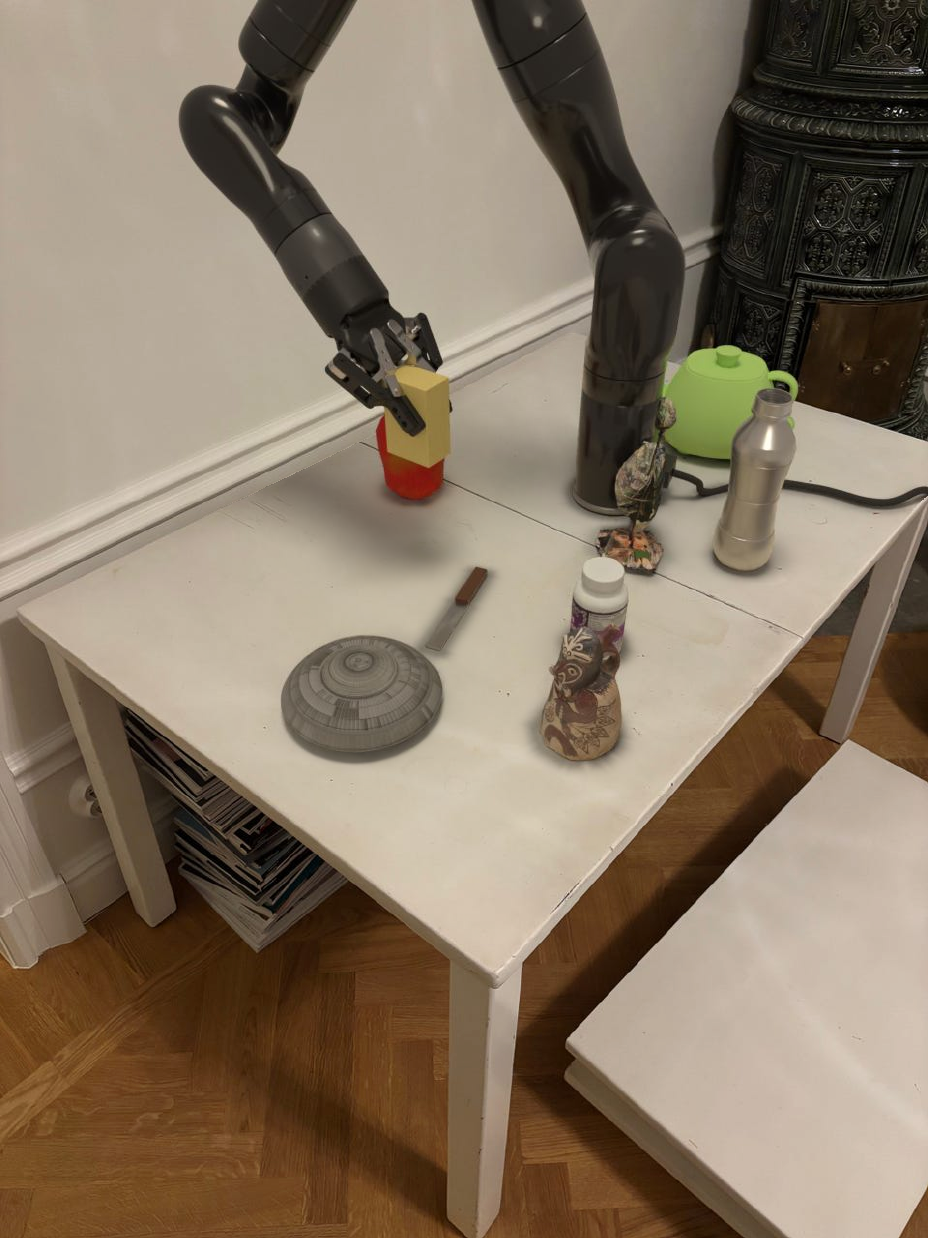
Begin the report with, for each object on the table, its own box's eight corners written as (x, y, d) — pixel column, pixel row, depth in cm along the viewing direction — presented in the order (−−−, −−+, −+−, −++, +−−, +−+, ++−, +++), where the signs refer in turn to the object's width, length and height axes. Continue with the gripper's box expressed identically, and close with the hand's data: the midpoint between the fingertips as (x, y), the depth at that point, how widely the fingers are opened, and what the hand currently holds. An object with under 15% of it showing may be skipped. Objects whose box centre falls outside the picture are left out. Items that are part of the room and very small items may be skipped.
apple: (371, 504, 115) (363, 416, 108) (393, 470, 121) (387, 385, 114) (438, 514, 113) (435, 425, 106) (457, 479, 120) (455, 393, 112)
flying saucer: (381, 787, 81) (376, 744, 77) (249, 722, 87) (239, 678, 83) (472, 684, 90) (472, 641, 87) (348, 632, 97) (343, 590, 93)
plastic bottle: (736, 584, 102) (773, 417, 89) (697, 552, 107) (726, 389, 94) (781, 568, 104) (824, 402, 92) (741, 537, 109) (776, 376, 96)
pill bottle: (564, 629, 97) (570, 553, 90) (615, 626, 97) (625, 550, 91) (573, 665, 92) (580, 587, 86) (627, 661, 93) (637, 584, 87)
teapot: (613, 456, 124) (623, 362, 116) (631, 405, 135) (641, 316, 127) (786, 480, 119) (809, 383, 110) (790, 425, 130) (811, 334, 122)
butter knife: (474, 572, 104) (474, 565, 104) (488, 575, 104) (488, 569, 103) (425, 647, 95) (425, 640, 94) (440, 650, 94) (439, 644, 94)
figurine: (531, 710, 88) (536, 610, 80) (603, 698, 89) (615, 598, 81) (554, 767, 82) (562, 665, 75) (630, 753, 83) (646, 652, 76)
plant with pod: (676, 529, 111) (702, 369, 98) (652, 583, 102) (678, 416, 90) (609, 514, 113) (626, 357, 100) (581, 566, 105) (596, 401, 92)
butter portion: (409, 438, 100) (405, 362, 94) (450, 453, 97) (449, 377, 92) (387, 452, 98) (381, 375, 92) (429, 468, 95) (425, 390, 90)
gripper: (296, 276, 85) (407, 435, 87) (398, 234, 93) (496, 380, 95) (264, 320, 91) (368, 468, 93) (362, 277, 99) (455, 413, 101)
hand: (432, 423), depth 94 cm, fingers closed on butter portion, 3 cm apart
